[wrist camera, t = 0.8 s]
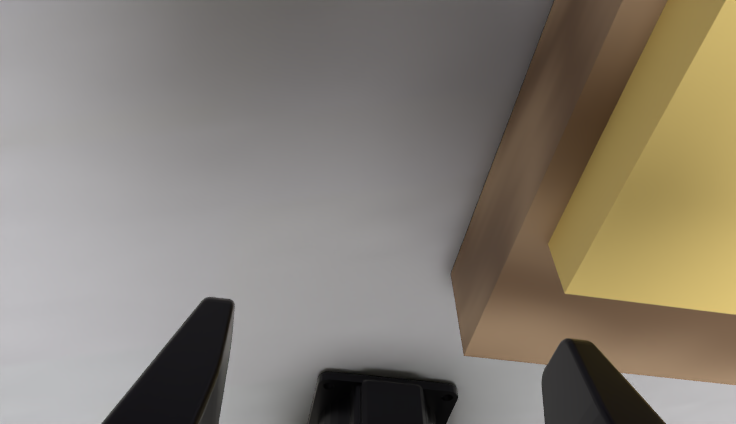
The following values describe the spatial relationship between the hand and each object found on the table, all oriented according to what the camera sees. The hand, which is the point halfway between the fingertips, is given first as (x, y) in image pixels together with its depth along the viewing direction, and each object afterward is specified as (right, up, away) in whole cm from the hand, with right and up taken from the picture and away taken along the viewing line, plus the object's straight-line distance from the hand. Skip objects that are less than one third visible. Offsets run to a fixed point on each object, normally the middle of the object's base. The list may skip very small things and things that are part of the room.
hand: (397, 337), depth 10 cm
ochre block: (+9, +4, +7) cm, 12 cm away
